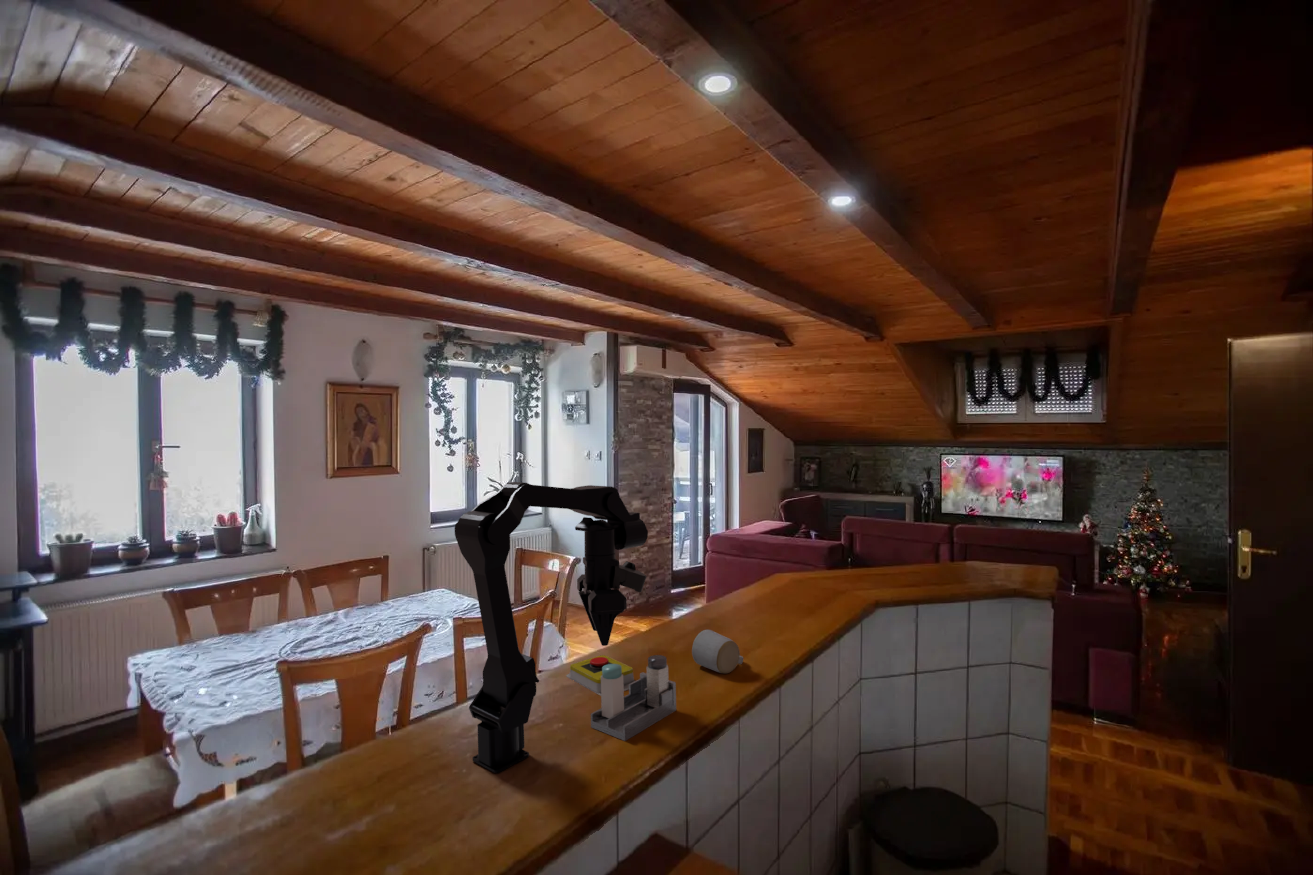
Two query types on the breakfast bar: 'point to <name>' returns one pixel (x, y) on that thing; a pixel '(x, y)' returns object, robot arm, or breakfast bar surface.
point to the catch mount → (641, 702)
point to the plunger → (612, 690)
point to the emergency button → (597, 673)
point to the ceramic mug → (716, 652)
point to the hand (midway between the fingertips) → (600, 637)
